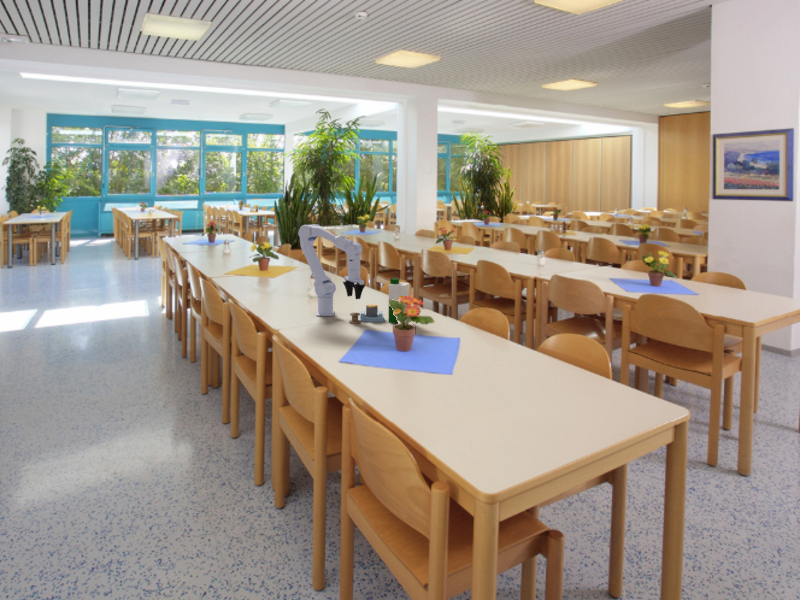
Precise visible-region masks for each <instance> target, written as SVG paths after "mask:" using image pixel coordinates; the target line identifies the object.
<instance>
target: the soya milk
mask: <svg viewBox="0 0 800 600" xmlns="http://www.w3.org/2000/svg"><path fill="white" fill-rule="evenodd" d="M387 286H388V302H389V301H390V300H392V299H394V300H398V298H399V297H400V296H409V297H410V282H404V281H403V282H401V281H400V278H398V277H393V278H390V282H389V283H388V284H387ZM389 322H392V323H391V324H398V322H397V320H396V317H395V316H394V315H393V310H392V308H391V307H390V306H389V305H388V323H389Z"/></svg>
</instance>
